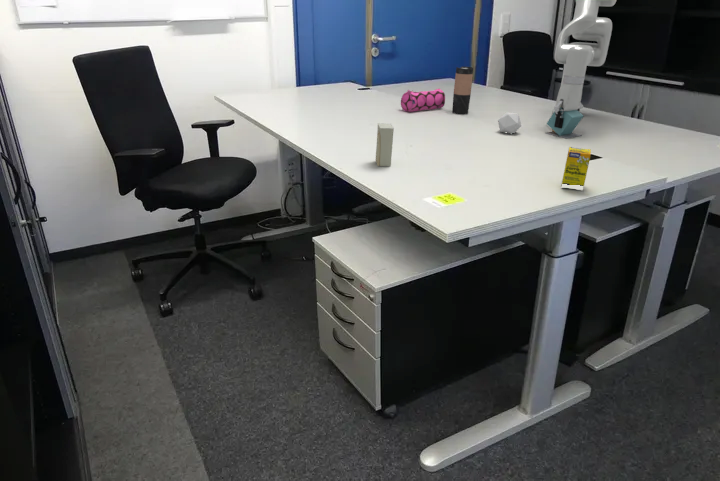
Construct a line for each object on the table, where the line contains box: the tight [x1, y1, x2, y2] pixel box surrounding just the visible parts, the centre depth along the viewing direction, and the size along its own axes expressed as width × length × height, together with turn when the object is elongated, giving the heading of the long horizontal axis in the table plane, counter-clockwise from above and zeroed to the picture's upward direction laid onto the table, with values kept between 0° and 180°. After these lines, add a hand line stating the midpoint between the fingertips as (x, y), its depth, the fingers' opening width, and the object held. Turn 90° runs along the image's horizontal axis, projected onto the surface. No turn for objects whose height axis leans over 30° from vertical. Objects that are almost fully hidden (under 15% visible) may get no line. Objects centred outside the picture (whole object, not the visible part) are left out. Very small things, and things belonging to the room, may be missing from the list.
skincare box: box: [375, 122, 395, 167], centre depth 169 cm, size 6×4×12 cm
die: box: [497, 111, 522, 134], centre depth 214 cm, size 8×9×10 cm
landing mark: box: [545, 130, 582, 139], centre depth 217 cm, size 10×10×1 cm
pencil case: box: [400, 88, 446, 113], centre depth 251 cm, size 21×10×10 cm, turn 127°
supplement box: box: [561, 146, 592, 186], centre depth 154 cm, size 6×6×11 cm
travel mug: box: [451, 66, 474, 115], centre depth 245 cm, size 8×8×20 cm
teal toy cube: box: [546, 107, 585, 136], centre depth 214 cm, size 8×8×9 cm
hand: (564, 126), depth 215 cm, fingers closed on teal toy cube, 7 cm apart
